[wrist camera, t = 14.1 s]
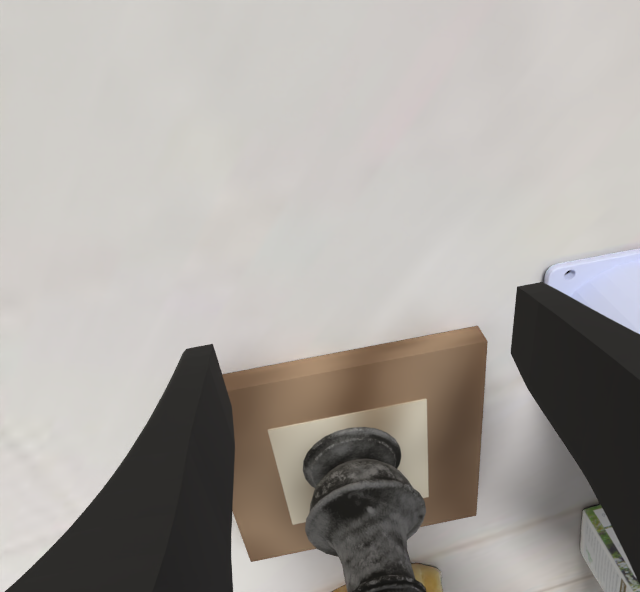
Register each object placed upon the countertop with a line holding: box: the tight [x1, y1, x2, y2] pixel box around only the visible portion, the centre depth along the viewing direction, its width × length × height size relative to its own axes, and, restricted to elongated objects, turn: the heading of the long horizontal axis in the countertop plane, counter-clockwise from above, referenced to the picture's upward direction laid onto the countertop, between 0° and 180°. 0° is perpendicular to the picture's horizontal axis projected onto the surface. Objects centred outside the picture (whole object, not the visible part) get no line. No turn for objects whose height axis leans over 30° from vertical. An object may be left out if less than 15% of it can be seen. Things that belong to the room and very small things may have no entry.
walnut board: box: [222, 326, 487, 562], centre depth 30 cm, size 14×14×1 cm
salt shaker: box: [303, 427, 426, 592], centre depth 25 cm, size 6×6×12 cm
